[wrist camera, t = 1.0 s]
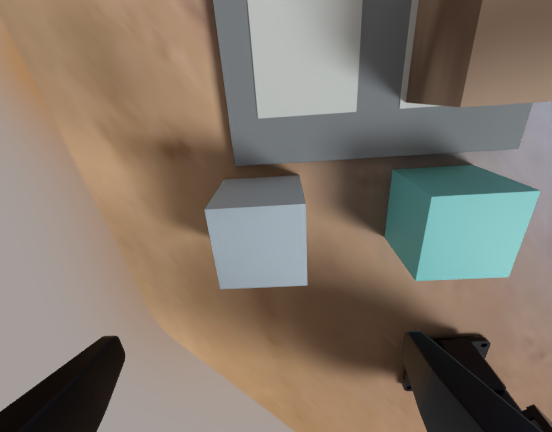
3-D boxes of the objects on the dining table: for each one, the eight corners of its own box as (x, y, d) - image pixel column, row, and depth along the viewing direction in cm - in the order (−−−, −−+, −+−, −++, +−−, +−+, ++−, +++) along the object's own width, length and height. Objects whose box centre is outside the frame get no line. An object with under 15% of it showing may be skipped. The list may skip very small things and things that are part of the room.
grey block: (301, 240, 20) (307, 285, 15) (233, 243, 20) (220, 289, 15) (299, 174, 18) (305, 203, 13) (223, 179, 18) (204, 209, 13)
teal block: (454, 233, 19) (508, 277, 15) (384, 236, 19) (415, 280, 15) (471, 164, 17) (540, 190, 13) (392, 169, 17) (431, 196, 13)
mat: (510, 147, 16) (519, 148, 16) (236, 163, 17) (234, 166, 17) (576, -75, 12) (591, -84, 12) (209, -40, 13) (206, -46, 12)
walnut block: (498, 96, 15) (595, 98, 10) (405, 102, 15) (460, 107, 10) (528, -21, 13) (668, -84, 8) (419, -11, 13) (496, -67, 8)
